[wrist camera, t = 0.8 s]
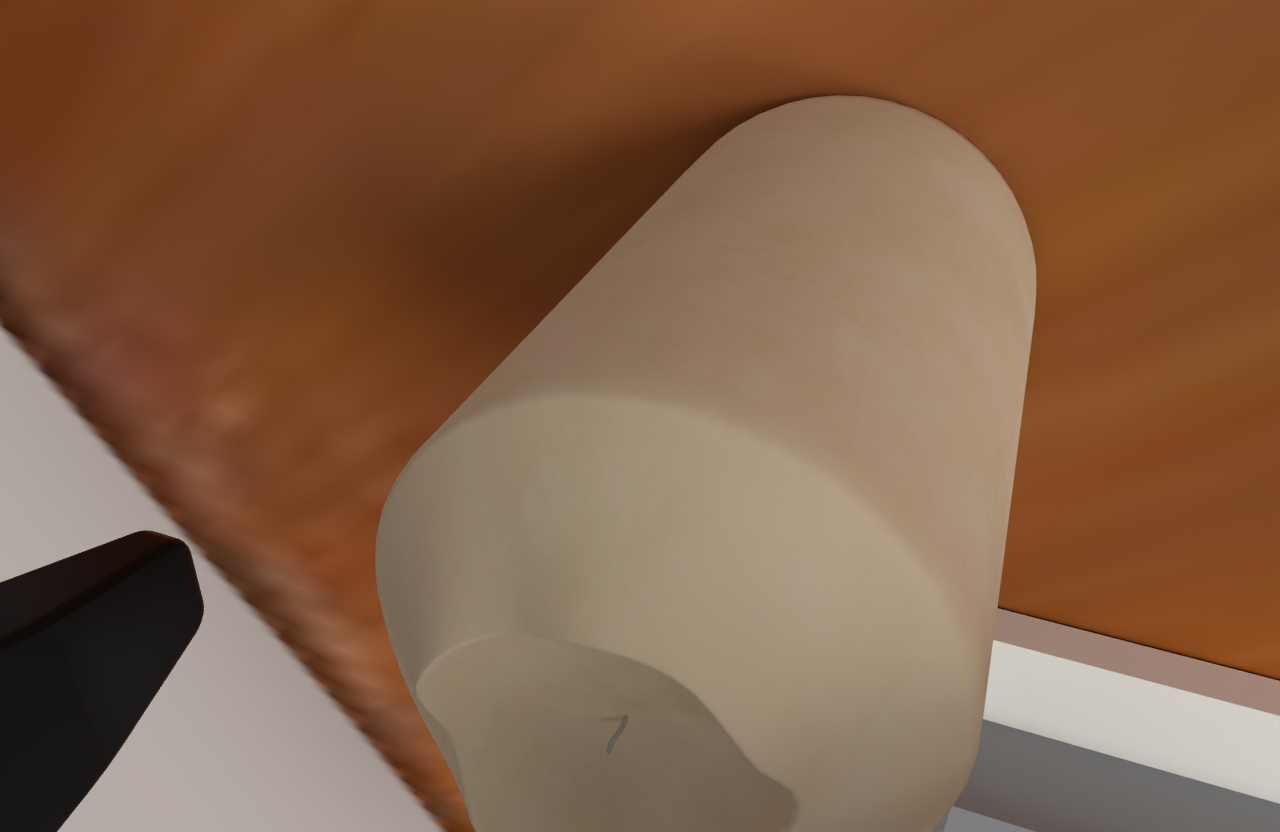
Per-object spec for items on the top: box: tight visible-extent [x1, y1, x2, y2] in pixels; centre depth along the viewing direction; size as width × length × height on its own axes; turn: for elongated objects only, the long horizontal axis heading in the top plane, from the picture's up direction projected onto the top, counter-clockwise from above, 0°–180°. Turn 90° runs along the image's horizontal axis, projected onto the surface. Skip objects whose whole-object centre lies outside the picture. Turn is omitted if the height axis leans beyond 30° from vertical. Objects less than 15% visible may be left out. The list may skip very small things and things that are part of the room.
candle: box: [375, 95, 1036, 832], centre depth 12 cm, size 6×6×10 cm
